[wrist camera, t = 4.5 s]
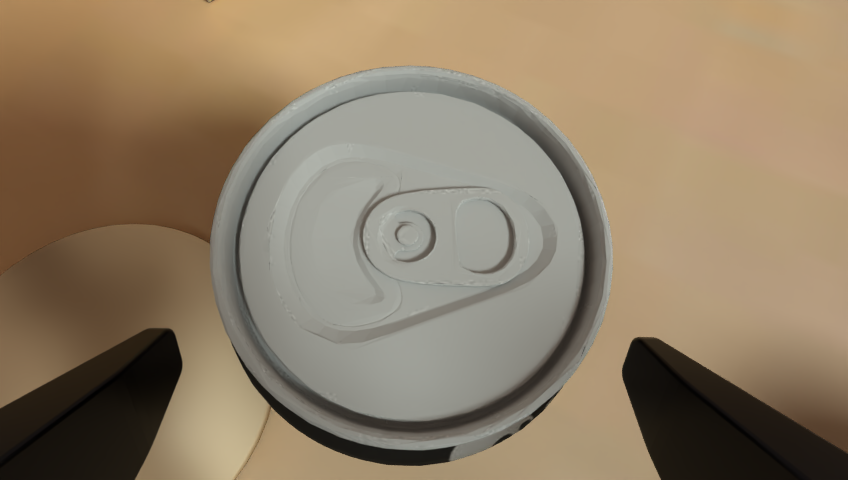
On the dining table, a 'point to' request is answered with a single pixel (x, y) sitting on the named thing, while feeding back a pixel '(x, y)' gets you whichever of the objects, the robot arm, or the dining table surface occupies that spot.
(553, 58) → the dining table surface
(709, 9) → the dining table surface
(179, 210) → the dining table surface
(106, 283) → the disc
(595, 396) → the dining table surface
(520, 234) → the beverage can
